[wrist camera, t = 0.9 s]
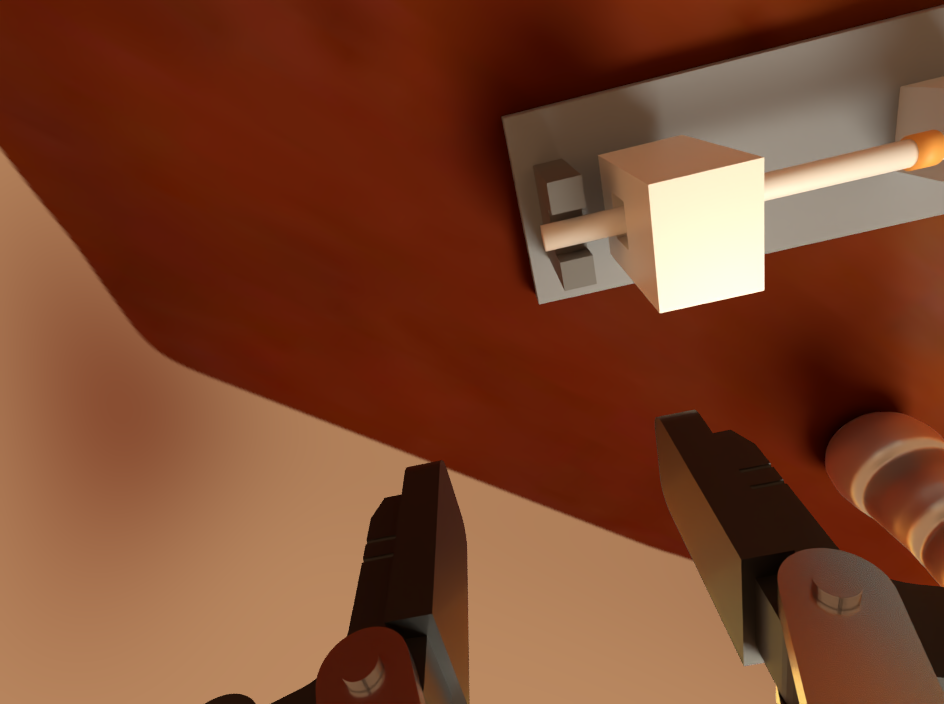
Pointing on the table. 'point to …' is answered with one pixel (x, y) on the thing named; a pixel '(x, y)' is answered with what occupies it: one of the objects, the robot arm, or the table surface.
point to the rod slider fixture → (748, 144)
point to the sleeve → (687, 220)
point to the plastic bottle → (894, 480)
